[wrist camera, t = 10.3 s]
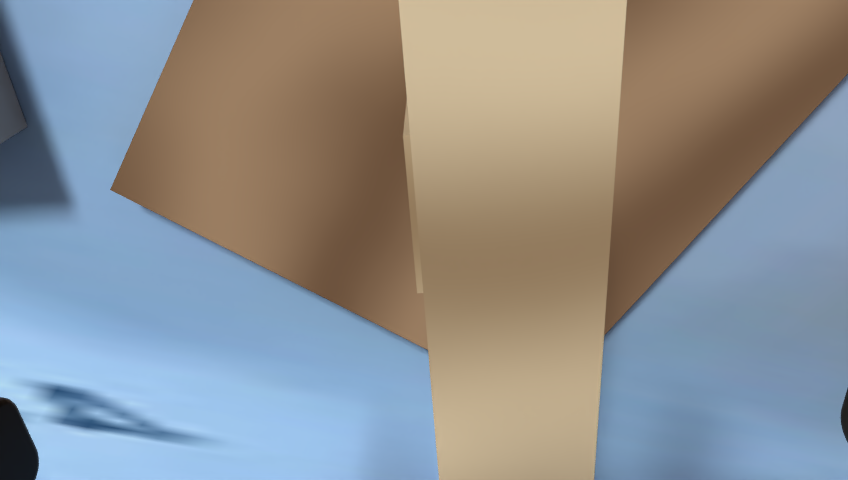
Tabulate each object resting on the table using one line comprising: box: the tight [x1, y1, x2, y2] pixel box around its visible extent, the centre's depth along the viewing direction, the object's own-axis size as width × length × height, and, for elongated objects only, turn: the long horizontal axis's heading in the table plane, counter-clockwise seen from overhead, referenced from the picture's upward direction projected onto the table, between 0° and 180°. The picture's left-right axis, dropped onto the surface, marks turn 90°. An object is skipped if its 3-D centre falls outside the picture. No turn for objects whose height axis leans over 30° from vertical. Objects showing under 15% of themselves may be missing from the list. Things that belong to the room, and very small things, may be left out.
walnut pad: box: [110, 0, 848, 350], centre depth 17 cm, size 14×14×1 cm
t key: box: [399, 0, 627, 480], centre depth 13 cm, size 8×3×8 cm, turn 4°
